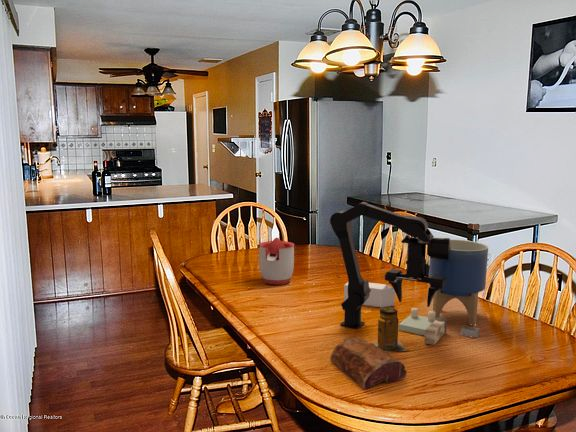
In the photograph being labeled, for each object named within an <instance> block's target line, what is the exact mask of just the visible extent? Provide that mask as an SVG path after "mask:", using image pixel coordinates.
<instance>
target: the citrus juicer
mask: <svg viewBox="0 0 576 432" xmlns="http://www.w3.org/2000/svg"><path fill="white" fill-rule="evenodd" d="M258 246H259V270H260V274H261V278H262V281H263V282H264V283H265V284H269V285H281V286H282V285H283V286H284V285H286V284H288V283H290V281H291V280H292V276H293V274H294V265H295V243H294V242H290V241H285V240H281V239H280V238H279V237H275V238H274V239H273V240H269V241H263V242H260V243H259V244H258Z"/></svg>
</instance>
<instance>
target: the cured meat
mask: <svg viewBox="0 0 576 432" xmlns="http://www.w3.org/2000/svg"><path fill="white" fill-rule="evenodd" d="M330 362H332V363H333V364H334V365H335V366H336V367H337V368H339V370H341V371H342V372H343V373H344V374H345V375H346V376H348V377H350V378H351V379H352V380H353V381H354V382H355V383H357V384H358V386H360V387H361V389H363V390H369V389H371V388H372V387H373V386H375V385H378V384H380V383H382V382H384V381H385V382H386V383H387V384H393V383H397V382H400V381H402V380H403V379H405V378H406V376H407V374H408V373H407V370H406V366H405V363H403V362H401V361H399V360H398V359H396V358H395V357H394V356H392V355H390V354H389V352H385V351H384V350H382V349H381V348H379V347H377V346H376V345H375V344H374V343H372V342H368V341H367V340H365V339H362V338H358V337H355V336H354V337H349V338H345V339H344V340H343V341H341V342H340V343H338V345H336V346H335V347H334V349H333V350H332V351H331V355H330Z"/></svg>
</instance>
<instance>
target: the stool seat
mask: <svg viewBox="0 0 576 432" xmlns="http://www.w3.org/2000/svg"><path fill="white" fill-rule="evenodd" d="M410 309H411V310H410V315H409V316H407V317H406V318H404V320H402V321H401V322H400V323H398V331H402V332H406V333H410V334H411V333H412V334H416V335H420V336H424V337H425V330H426V329H427V328H428V327H429V326H430V325H431V324H432V323H433V322H434V321H435V320H436V319H435V314H436V312H434V311H433V310H428V312H427V314H428V315H427V316H423V315H419V308H417V307H411V308H410Z"/></svg>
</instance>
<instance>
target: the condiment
mask: <svg viewBox="0 0 576 432" xmlns="http://www.w3.org/2000/svg"><path fill="white" fill-rule="evenodd" d="M377 319H378V320H377V321H378V322H377V342H373V344H374V345H375V346H377V347H379V348H381V349H382V350H384V351H385V352H387V353H392V352H405V351H406V352H407V351H408V350H407V348H406V347H405V346H404V345H403V344H402V342H401V341H398V339H399V337H398V336H399V318H398V310H397V309H396V308H395V307H391V306H388V307H380V309H379V316H378V318H377Z"/></svg>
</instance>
